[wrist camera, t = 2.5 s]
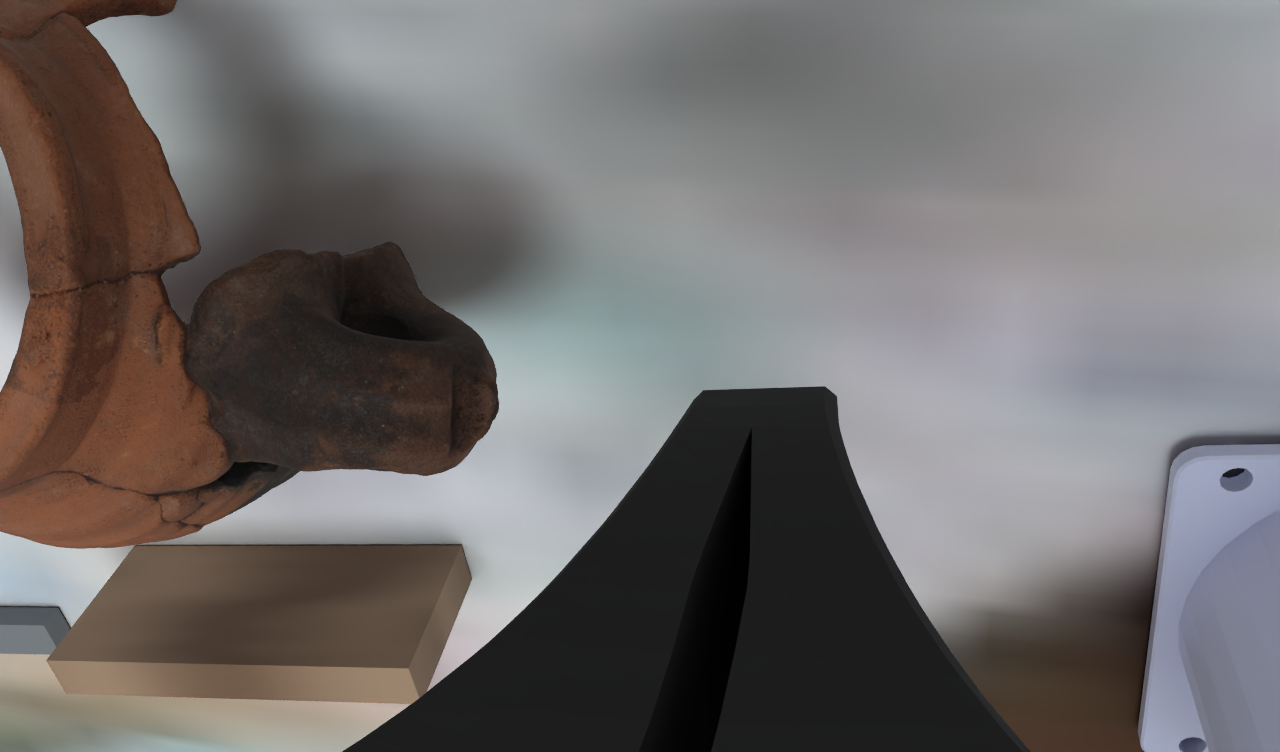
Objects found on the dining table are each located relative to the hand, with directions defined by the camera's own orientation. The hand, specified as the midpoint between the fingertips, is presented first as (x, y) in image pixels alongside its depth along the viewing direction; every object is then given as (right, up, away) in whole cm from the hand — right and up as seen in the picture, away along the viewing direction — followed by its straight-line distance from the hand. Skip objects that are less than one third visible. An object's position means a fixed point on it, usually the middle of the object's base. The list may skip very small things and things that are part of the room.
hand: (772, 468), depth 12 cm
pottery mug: (-9, +4, +10) cm, 14 cm away
